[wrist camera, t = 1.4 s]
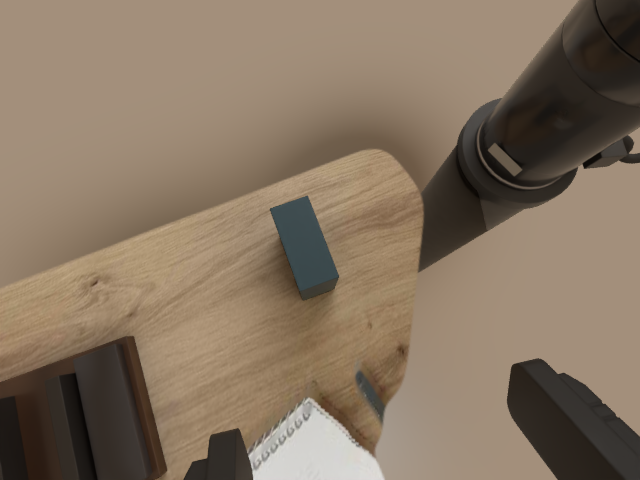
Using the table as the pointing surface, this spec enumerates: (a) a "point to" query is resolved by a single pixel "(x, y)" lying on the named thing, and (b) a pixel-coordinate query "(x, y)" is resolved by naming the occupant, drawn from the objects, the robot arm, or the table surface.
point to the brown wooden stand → (81, 419)
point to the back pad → (305, 247)
